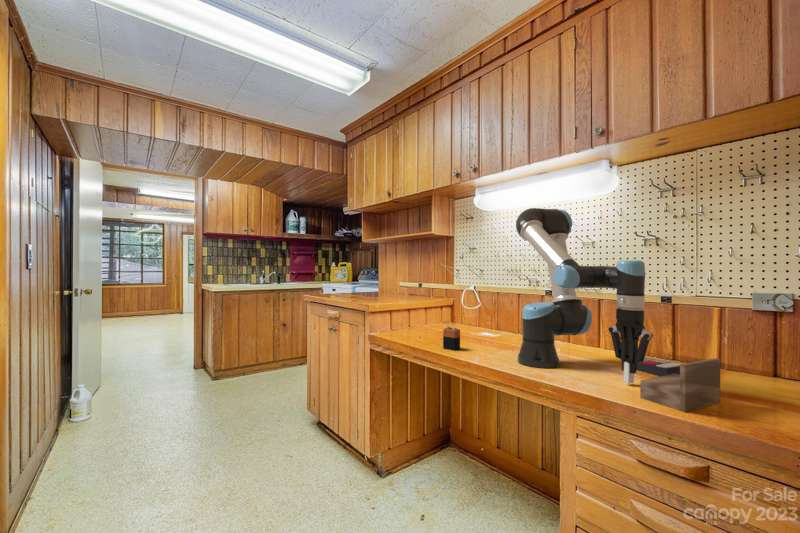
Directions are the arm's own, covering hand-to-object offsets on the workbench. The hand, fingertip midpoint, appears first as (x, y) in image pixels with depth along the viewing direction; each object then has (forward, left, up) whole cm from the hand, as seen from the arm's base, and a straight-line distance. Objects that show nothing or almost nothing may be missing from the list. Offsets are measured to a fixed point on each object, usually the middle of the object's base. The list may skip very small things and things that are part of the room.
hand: (628, 382), depth 113 cm
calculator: (-6, +25, -1) cm, 25 cm away
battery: (-65, -25, -1) cm, 70 cm away
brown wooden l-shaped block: (+14, 0, -1) cm, 15 cm away
